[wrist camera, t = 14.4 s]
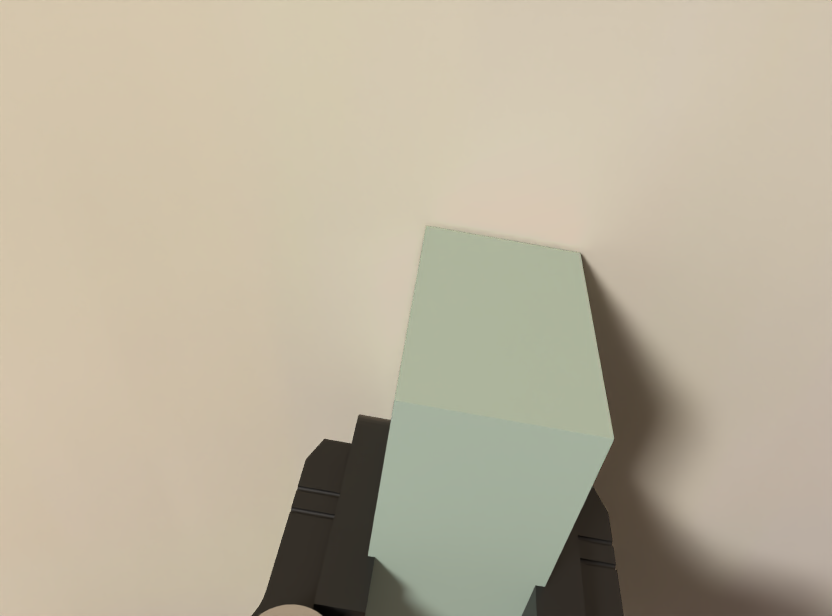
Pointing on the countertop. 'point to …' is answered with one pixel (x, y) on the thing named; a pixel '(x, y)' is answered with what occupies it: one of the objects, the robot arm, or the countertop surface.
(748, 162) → the countertop surface
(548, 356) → the sage stick
